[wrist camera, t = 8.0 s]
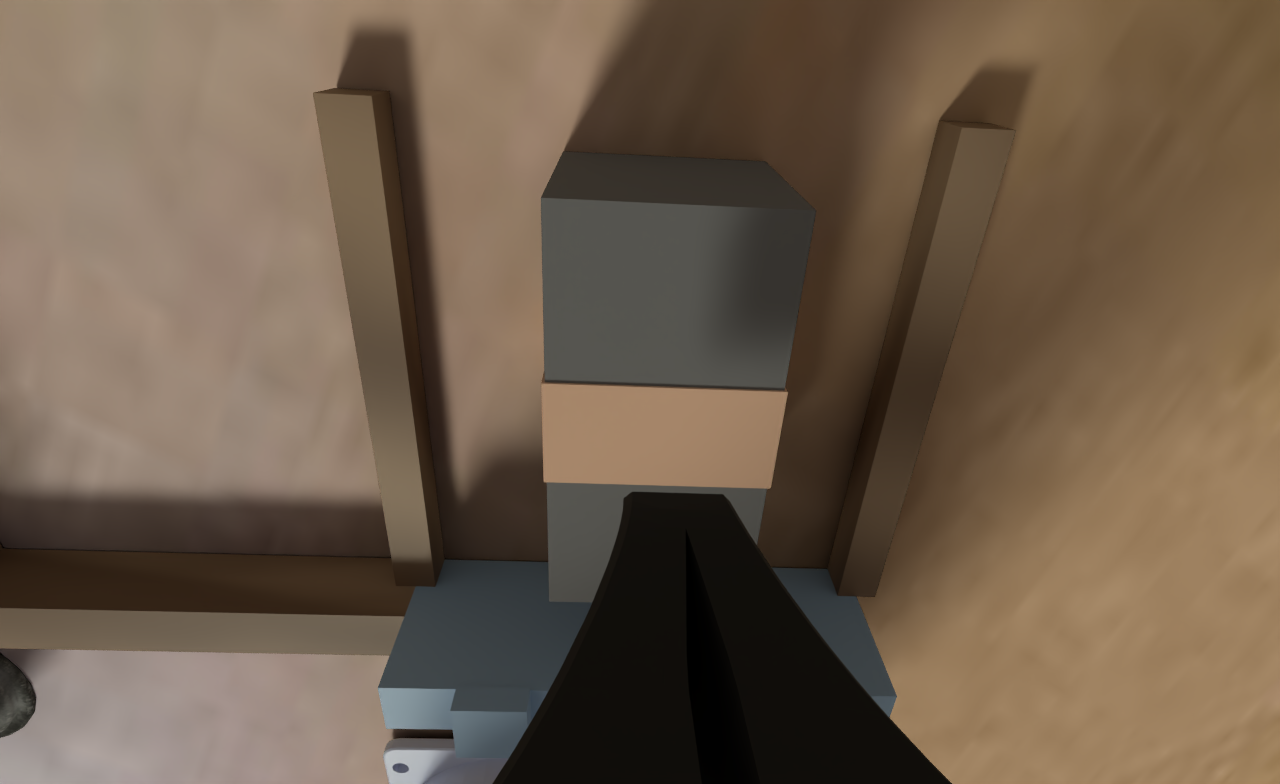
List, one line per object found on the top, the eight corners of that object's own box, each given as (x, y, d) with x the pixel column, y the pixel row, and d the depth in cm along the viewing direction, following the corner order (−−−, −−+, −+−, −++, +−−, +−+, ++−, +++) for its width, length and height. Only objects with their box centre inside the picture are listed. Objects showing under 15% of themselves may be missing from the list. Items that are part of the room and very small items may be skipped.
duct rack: (851, 608, 19) (912, 763, 15) (-13, 589, 18) (-195, 750, 14) (989, 123, 13) (1154, 167, 9) (-320, 53, 12) (-801, 66, 8)
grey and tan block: (722, 485, 17) (749, 607, 14) (562, 480, 17) (546, 603, 13) (767, 161, 13) (820, 211, 10) (560, 150, 13) (537, 197, 10)
